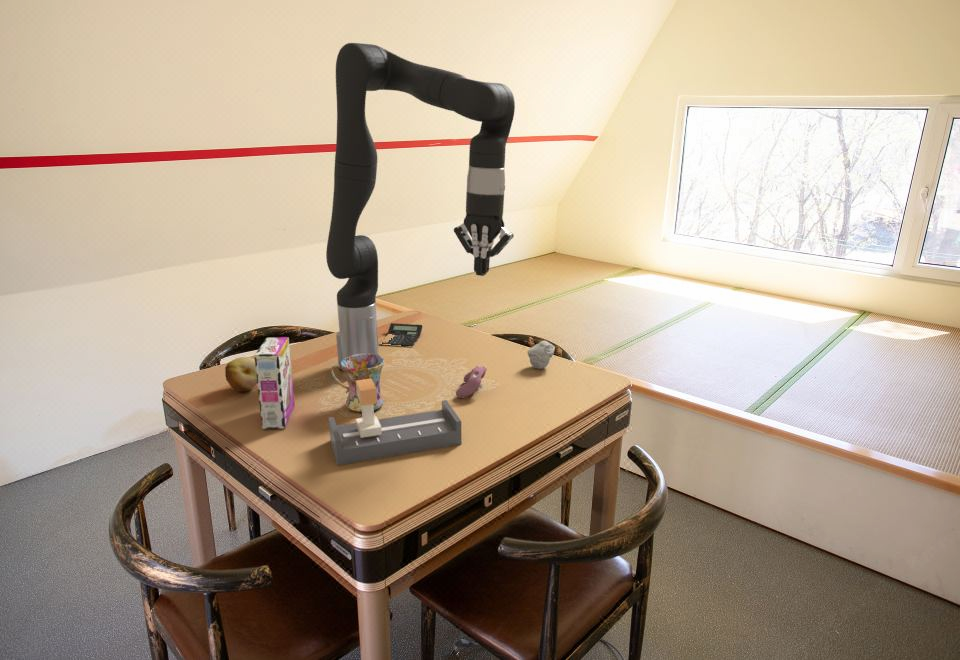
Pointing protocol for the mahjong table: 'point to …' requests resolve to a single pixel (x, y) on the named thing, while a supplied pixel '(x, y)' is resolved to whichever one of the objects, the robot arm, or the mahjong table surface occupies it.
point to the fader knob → (367, 409)
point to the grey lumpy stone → (541, 354)
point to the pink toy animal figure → (471, 382)
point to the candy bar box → (274, 382)
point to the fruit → (241, 373)
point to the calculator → (404, 334)
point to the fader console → (397, 435)
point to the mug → (361, 377)
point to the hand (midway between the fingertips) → (481, 274)
